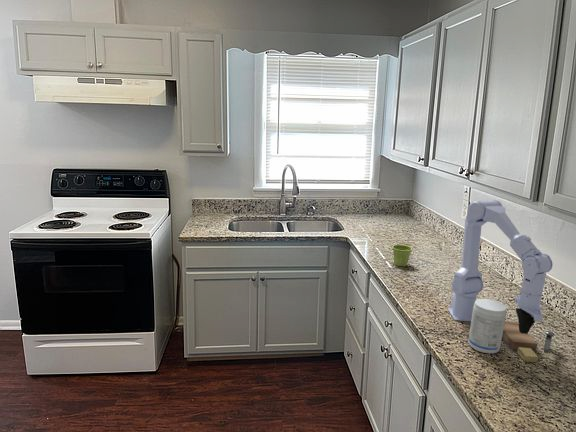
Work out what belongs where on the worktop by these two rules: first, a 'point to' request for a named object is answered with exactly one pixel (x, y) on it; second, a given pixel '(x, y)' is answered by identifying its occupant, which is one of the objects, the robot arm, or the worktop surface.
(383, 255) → the worktop surface
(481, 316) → the supplement tub
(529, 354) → the yellow rectangular block
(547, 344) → the lever
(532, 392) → the worktop surface
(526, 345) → the body
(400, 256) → the plant pot
